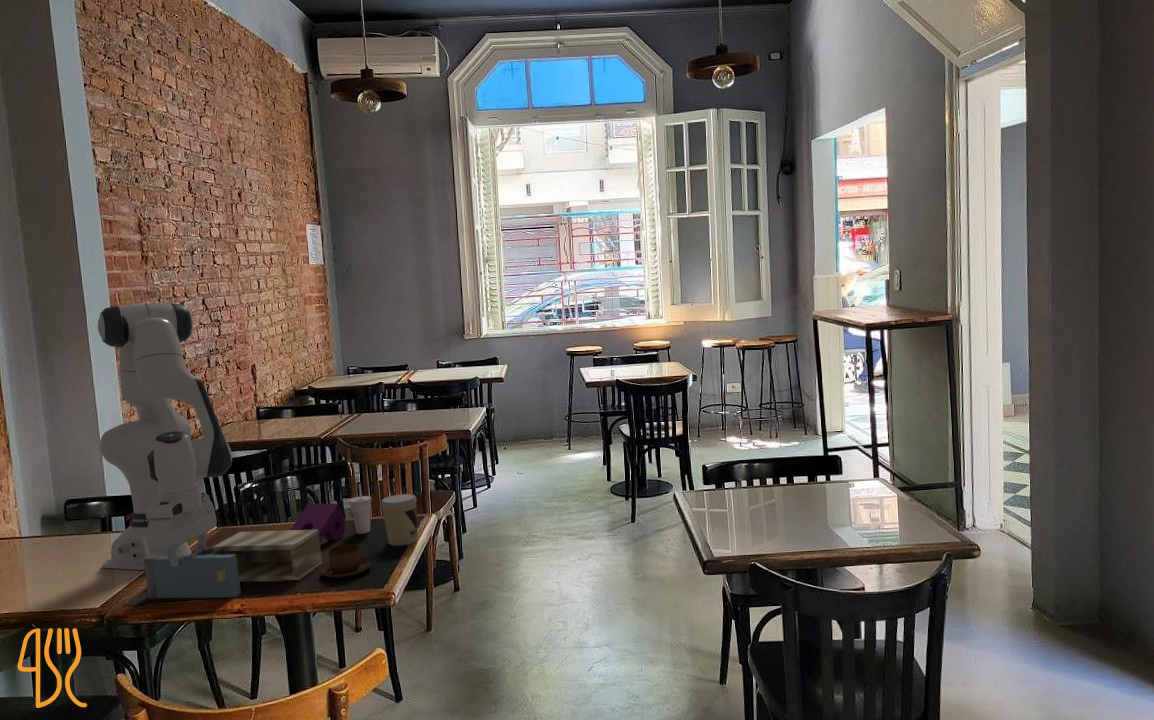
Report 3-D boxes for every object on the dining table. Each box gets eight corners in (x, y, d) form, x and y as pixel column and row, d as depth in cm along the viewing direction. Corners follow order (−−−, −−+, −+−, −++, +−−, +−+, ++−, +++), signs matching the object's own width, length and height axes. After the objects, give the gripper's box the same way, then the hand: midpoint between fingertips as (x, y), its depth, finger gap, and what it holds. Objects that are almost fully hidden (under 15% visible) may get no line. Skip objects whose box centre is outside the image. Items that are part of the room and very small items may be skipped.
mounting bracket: (319, 574, 230) (348, 526, 245) (307, 550, 225) (338, 503, 241) (287, 573, 232) (318, 526, 248) (276, 550, 228) (308, 503, 243)
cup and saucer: (310, 580, 207) (308, 556, 206) (341, 564, 218) (339, 540, 217) (351, 583, 202) (349, 558, 201) (381, 566, 213) (378, 542, 213)
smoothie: (363, 536, 241) (357, 487, 239) (347, 534, 244) (341, 486, 243) (379, 529, 246) (374, 481, 245) (363, 527, 249) (358, 480, 248)
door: (143, 600, 202) (137, 561, 201) (154, 594, 206) (149, 555, 205) (232, 599, 198) (227, 559, 197) (242, 592, 202) (237, 553, 201)
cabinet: (193, 589, 207) (188, 553, 206) (233, 565, 223) (229, 532, 222) (288, 588, 202) (283, 551, 201) (322, 563, 218) (318, 529, 218)
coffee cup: (416, 545, 228) (412, 501, 227) (382, 547, 228) (377, 504, 227) (423, 534, 237) (419, 492, 236) (390, 537, 237) (385, 495, 236)
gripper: (196, 490, 211) (203, 545, 212) (139, 514, 191) (148, 574, 192) (219, 489, 210) (226, 544, 211) (164, 512, 190) (173, 573, 191)
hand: (189, 558), depth 201 cm, fingers open, 8 cm apart
